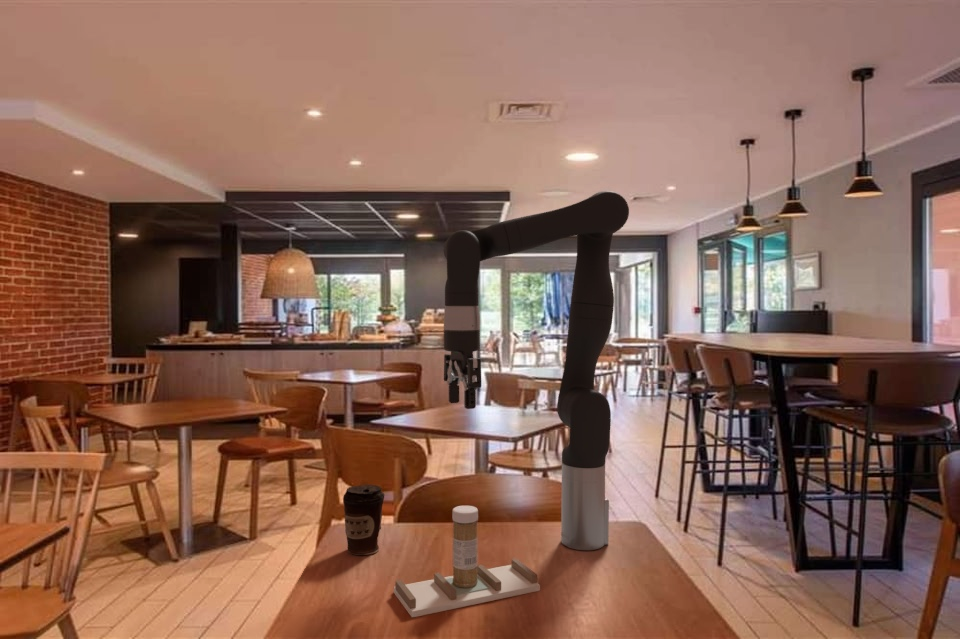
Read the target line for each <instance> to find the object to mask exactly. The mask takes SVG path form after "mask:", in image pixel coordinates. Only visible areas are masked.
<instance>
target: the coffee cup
mask: <svg viewBox="0 0 960 639" xmlns="http://www.w3.org/2000/svg"><path fill="white" fill-rule="evenodd" d="M382 489H383V488H382V486H379V485H376V484H360V485H356V486H349V487H347V488H346V491H345V493H344V494H343V498H342V500H343V505H344V507H343V508H344V526H345V527H344V530H345V532H344V533H345V535H346V536H345V537H346V541H347V552H348V553H349V554H351V555H355V556H366V555H372V554H377V552H379V551H378V550H380V546H379V545H378V541H379V539H378V538H379V534H380V530H381V529H382V519H383V513H382V512H383V504H384V499H385V493H384V492H383V491H382Z"/></svg>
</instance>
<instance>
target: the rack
mask: <svg viewBox="0 0 960 639" xmlns="http://www.w3.org/2000/svg"><path fill="white" fill-rule="evenodd" d="M510 561H511V564H509V565H508V564H507V565H502V566H498V567H497V566H496V567H492V568H486V567H485V566H484V565H483V564H479V565H478V564H477V580H478V582H477V584H476V585H475V586H472V587H469V588H462V587H458V586H456V585H454V584H453V575H449V576H445V577H444V576H443V574H441V572H434V573H433V579H428V580H422V581H418V582H413V583H407V584H406V583H404V582H403V580H402V579H396V580H395V585H394V586H393V593H394V595H395V597H396V598H397V599H398V600H399V602H400V603H401V605H402V606H403V607H404V609H405V610H406V611H407V613H408V614H409V615H410V617H411V618H417V617H420V616H426V615H430V614H436V613H440V612H444V611H450V610H454V609H459V608H464V607H468V606H472V605H473V606H474V605H477V604H478V605H479V604H484V603H487V602H488V603H489V602H491V601H495V600H496V601H497V600H502V599H506V598H511V597H516V596H521V595H524V594H530V593H534V592H539V591H541V585H540V584H539V582H538V574H537V573H536V572H535V571H533V570H532V569H531V568H529V567H528V566H527V565H525V564H524V563H523V562H521V561H520V560H519V559H518V558H512V559H511V560H510Z"/></svg>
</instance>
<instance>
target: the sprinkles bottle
mask: <svg viewBox="0 0 960 639" xmlns="http://www.w3.org/2000/svg"><path fill="white" fill-rule="evenodd" d="M451 512H452V518H451V519H452V523H453V528H452V529H453V530H452V531H453V535H452V568H453V571H452V572H453V575H452V576H453V584H454V585H456V586H458V587H462V588H469V587H472V586H475V585H476V584H477V582H478V580H477V565H478V521H479V510H478V508H477V507H476V506H474V505H458V506H455V507H453V508H452V511H451Z"/></svg>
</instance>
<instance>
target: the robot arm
mask: <svg viewBox="0 0 960 639" xmlns="http://www.w3.org/2000/svg"><path fill="white" fill-rule="evenodd" d="M629 216H630V206H629V205H628V201H626V199H625V197H623V196H622V195H621V194H620V193H618V192H616V191H611V190H603V191H598V192H596V193H594V194H592V195H591V196H589V197H588V198H585V199H583V200H580V201H578V202H576V203H574V204H570V205H567V206H564V207H561V208H557V209H553V210H549V211H544V212H540V213H536V214H535V213H534V214H530V215H526V216H520V217H516V218H512V219H508V220H503V221H500V222H496V223H492V224H491V225H488V226H486V227H483V228H479V229H474V230H470V231H469V230H467V229H466V230H463V229H462V230H461V229H460V230H457V231H455V232H453V233H452V234H450V236H449V237H448V238H447V239H446V240H445V243H444V245H443V255H444V258H445V259H446V281H445V286H444V312H443V350H444V351H445V352H450V353H445V354H444V355H443V357H444V358H443V360H444V361H443V380H444V382H446V385H447V386H448V403H450V404H458V403H460V382H462V385H463V388H464V398H463V399H464V404H463V405H464V406H463V407H464V408H465V409H467V410H471V409H475V408H476V405H477V404H476V403H477V402H476V401H477V400H476V398H477V397H476V396H477V395H476V394H477V393H476V391H477V390H478V389H479V388H481V387H482V367H481V366H482V362H481V357H474V352H478V351H479V350H480V346H481V343H480V342H481V339H480V335H481V332H480V328H481V327H480V325H481V324H480V323H481V320H480V318H481V317H480V310H479V283H478V282H479V275H480V265H481V262H483V261H486V260H489V259H491V258H498V257H504V256H508V255H513V254H516V253H517V254H518V253H521V252H524V251H528V250H532V249H536V248H538V247H541V246H544V245H546V244H550V243H552V242H557V241H558V240H562V239H566V238H570V237H574V236H576V261H575V268H574V274H573V281H572V289H571V290H572V291H571V297H570V304H569V313H568V314H569V315H568V327H567V328H568V330H567V339H566V348H565V359H564V361H565V362H564V366H563V367H564V368H563V372H562V378H561V382H560V387H559V391H558V397H557V402H556V408H557V410H556V411H557V415H558V418H559V420H560V421H561V422H562V424H563V425H565V426H566V427H569V441H568V445H567V446H565V447H564V448H563V449H562V451H561V508H560V509H561V519H560V520H561V521H560V522H561V525H560V526H561V528H560V529H561V530H560V536H561V537H560V542H561V543H562V545H563V546H565V547H567V548H569V549H573V550H578V551H594V550H599V549H601V548H603V547H604V546H605V545H609V536H610V535H609V534H610V533H609V532H610V530H609V529H610V528H609V526H610V525H609V524H610V515H609V514H610V511H609V510H610V501H609V499H608V498H606V460H607V455H608V453H609V450H610V442H611V441H610V439H611V425H612V423H611V422H612V416H611V414H612V413H611V407H610V403H609V400H608V399H607V397H606V396H605V395H604V394H602V393H601V392H599V391H597V390H595V374H596V373H595V372H596V368H597V363H598V361H599V358H600V355H601V353H602V351H603V350H604V348H605V345H606V343H607V341H608V338H609V337H610V333H611V331H612V323H613V316H614V307H615V306H614V304H615V295H614V287H613V281H612V276H611V271H610V251H611V247H612V246H611V245H612V240H613V239H612V238H613V235H614V234H615V233H617V232H618V231H620V230H621V229H622V228H623V227H624V226H625V224H626V223H627V221H628V219H629Z"/></svg>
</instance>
